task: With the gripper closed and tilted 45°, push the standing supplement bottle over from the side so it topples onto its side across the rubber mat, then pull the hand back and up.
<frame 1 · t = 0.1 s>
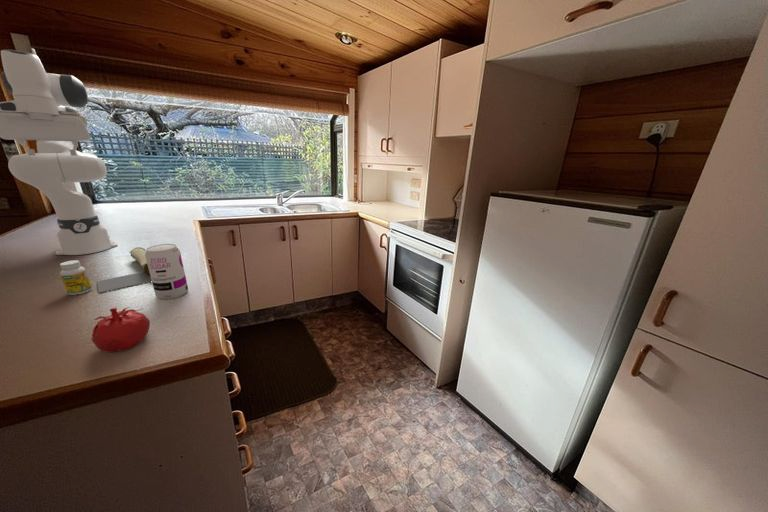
hand: (53, 155, 96), 39 cm above the counter, tool pointing down, fingers open, 8 cm apart
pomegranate: (126, 343, 67), on the counter
rolling pin: (146, 267, 108), on the counter, touching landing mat
supplement can: (172, 294, 90), on the counter
supplement bottle: (80, 292, 90), on the counter
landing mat: (134, 279, 98), on the counter
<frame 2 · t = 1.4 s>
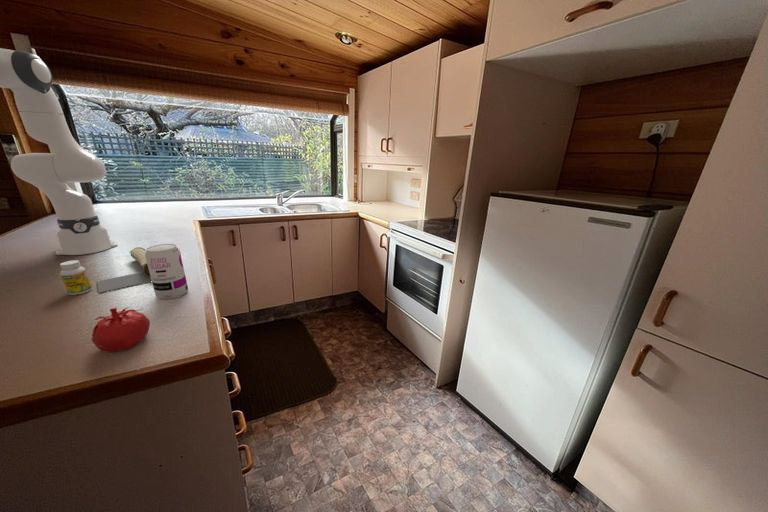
nothing on the counter moved.
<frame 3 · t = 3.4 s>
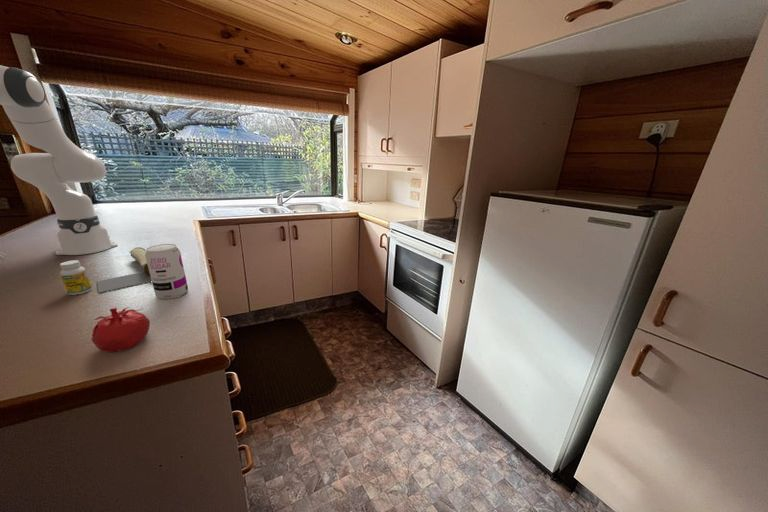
hand: (3, 259, 78), 13 cm above the counter, tool tilted 45°, fingers closed
nothing on the counter moved.
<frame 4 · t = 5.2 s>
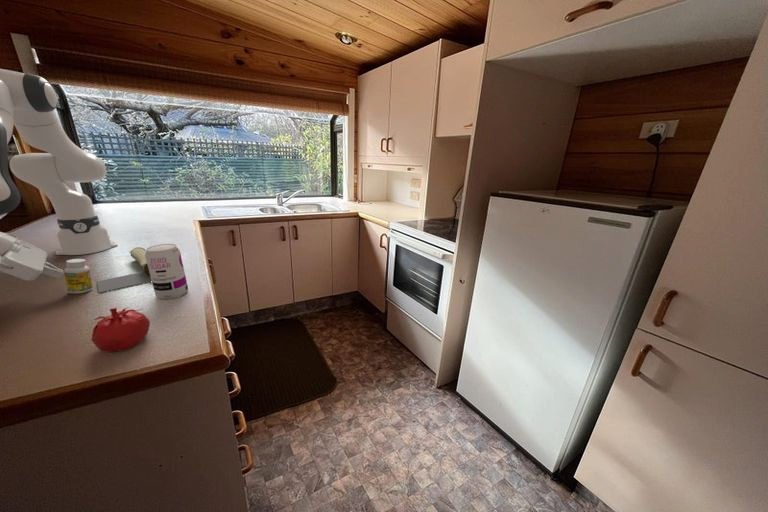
hand: (61, 274, 86), 6 cm above the counter, tool tilted 45°, fingers closed, pressing on supplement bottle
supplement bottle: (80, 291, 90), on the counter, touching gripper
everything else where it was.
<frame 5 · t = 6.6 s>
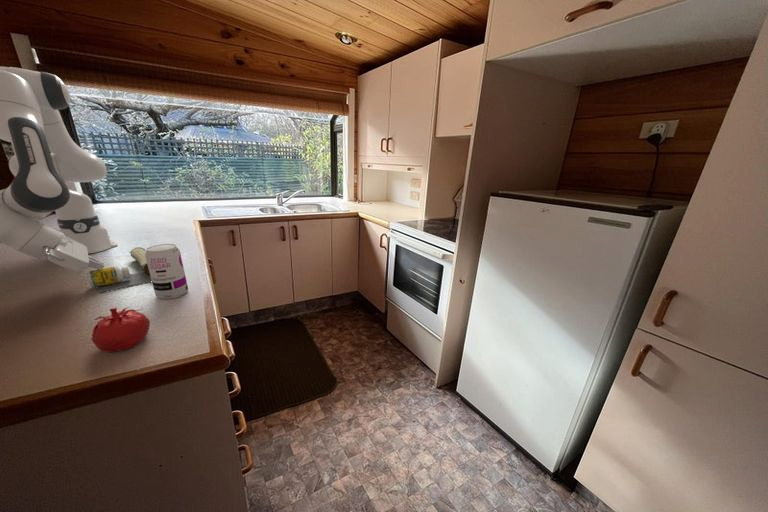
hand: (102, 267, 92), 6 cm above the counter, tool tilted 45°, fingers closed
supplement bottle: (88, 279, 90), point 3 cm above the counter, touching gripper, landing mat
everything else where it was.
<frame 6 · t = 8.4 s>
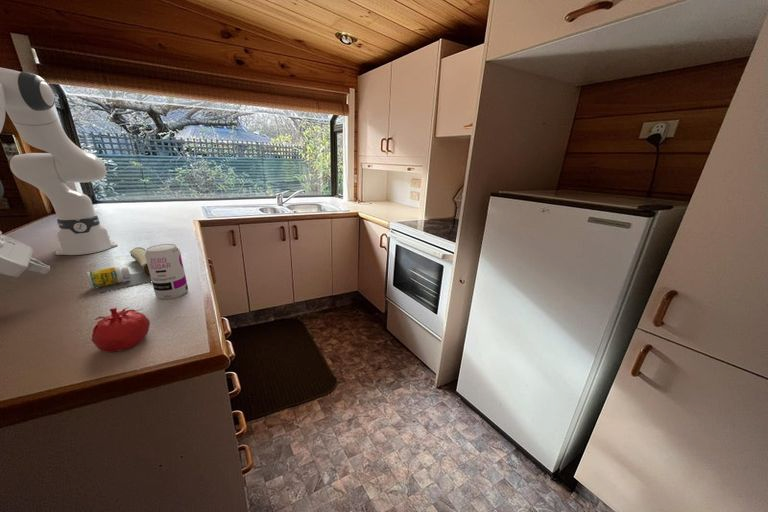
hand: (48, 270, 84), 8 cm above the counter, tool tilted 45°, fingers closed
supplement bottle: (88, 280, 90), point 3 cm above the counter, touching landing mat
everything else where it was.
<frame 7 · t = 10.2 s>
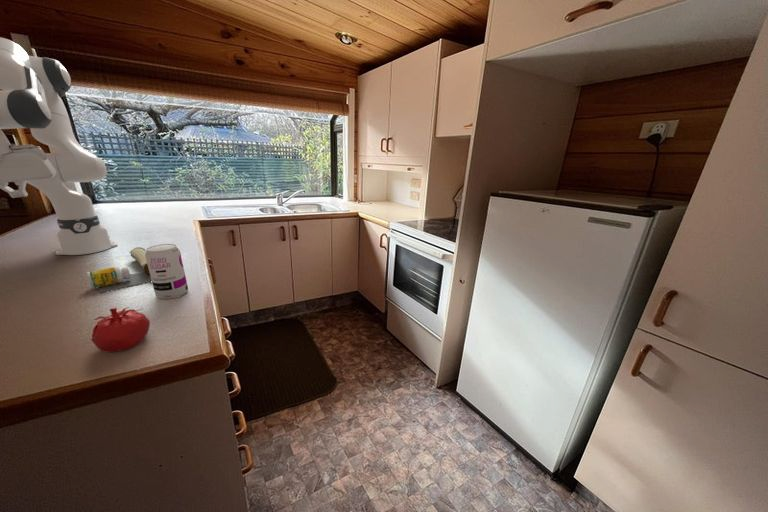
hand: (20, 196, 86), 28 cm above the counter, tool pointing down, fingers closed
nothing on the counter moved.
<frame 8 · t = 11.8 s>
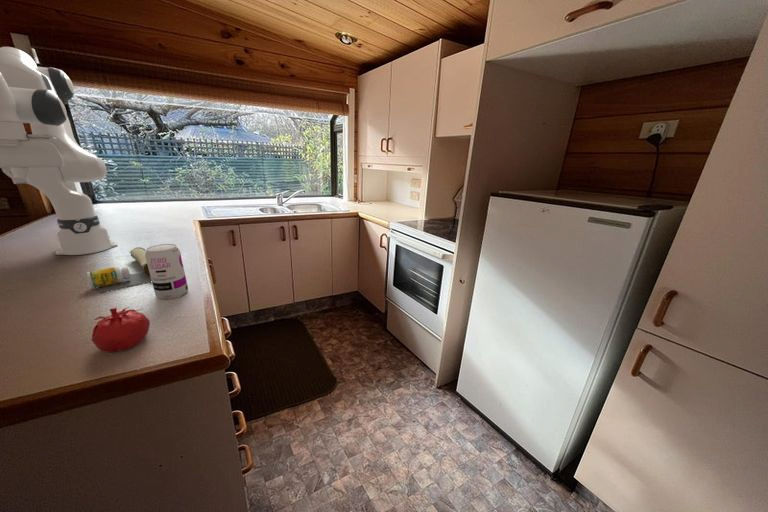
hand: (21, 183, 86), 31 cm above the counter, tool pointing down, fingers closed
nothing on the counter moved.
at the end: supplement bottle tilted 91°; supplement bottle inside the target area (3.6 cm from its centre), point 3.1 cm above the counter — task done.
